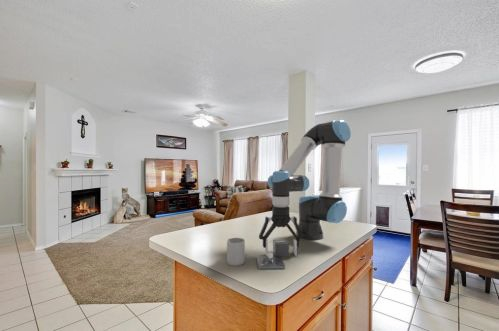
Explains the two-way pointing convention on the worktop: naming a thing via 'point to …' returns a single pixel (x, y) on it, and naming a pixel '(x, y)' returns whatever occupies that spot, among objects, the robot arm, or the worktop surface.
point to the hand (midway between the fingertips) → (280, 254)
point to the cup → (235, 251)
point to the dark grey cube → (281, 248)
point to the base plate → (270, 262)
